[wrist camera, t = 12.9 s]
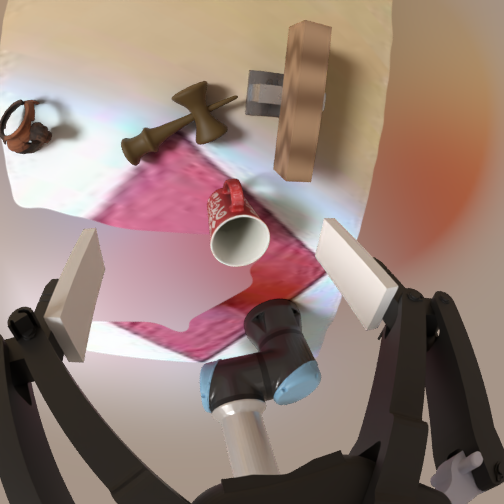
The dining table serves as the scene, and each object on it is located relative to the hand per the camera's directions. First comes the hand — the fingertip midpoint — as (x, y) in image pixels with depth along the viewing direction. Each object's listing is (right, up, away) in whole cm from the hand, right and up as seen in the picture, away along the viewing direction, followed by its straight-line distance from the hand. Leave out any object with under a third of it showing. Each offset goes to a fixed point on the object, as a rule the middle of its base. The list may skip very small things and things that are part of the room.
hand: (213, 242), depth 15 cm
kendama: (-10, +21, +26) cm, 35 cm away
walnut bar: (+9, +23, +23) cm, 33 cm away
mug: (-3, +10, +36) cm, 37 cm away
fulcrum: (+7, +27, +27) cm, 39 cm away
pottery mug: (-36, +22, +18) cm, 46 cm away
